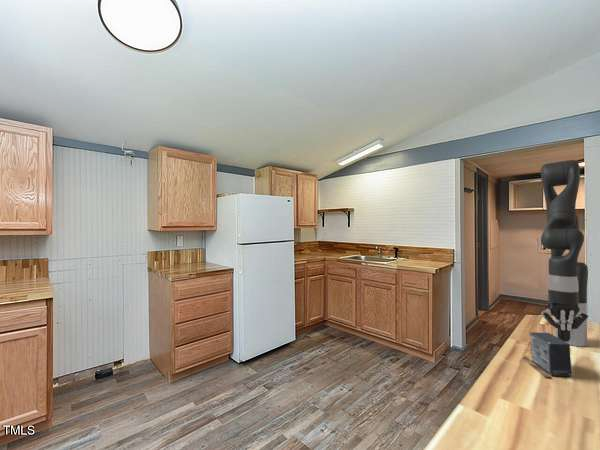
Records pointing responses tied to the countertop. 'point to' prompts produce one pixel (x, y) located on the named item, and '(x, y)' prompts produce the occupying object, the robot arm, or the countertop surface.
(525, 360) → the stop strip
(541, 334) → the small box
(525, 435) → the countertop surface
